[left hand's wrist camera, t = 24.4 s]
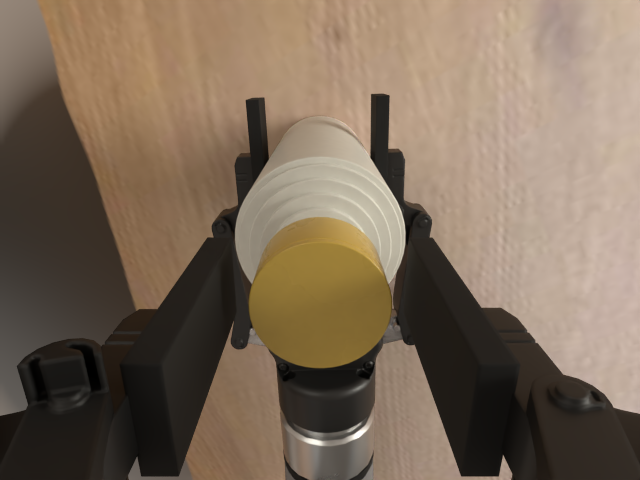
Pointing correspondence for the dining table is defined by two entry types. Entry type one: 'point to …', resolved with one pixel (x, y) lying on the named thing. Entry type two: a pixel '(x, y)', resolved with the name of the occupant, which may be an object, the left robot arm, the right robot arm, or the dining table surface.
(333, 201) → the bottle
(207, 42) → the dining table surface
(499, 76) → the dining table surface
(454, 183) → the dining table surface
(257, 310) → the cap
